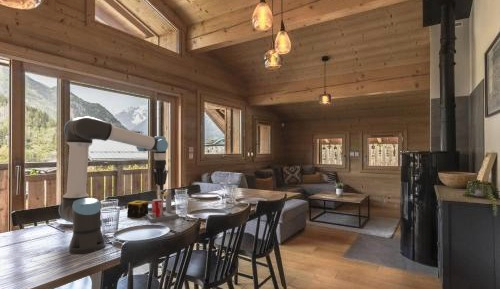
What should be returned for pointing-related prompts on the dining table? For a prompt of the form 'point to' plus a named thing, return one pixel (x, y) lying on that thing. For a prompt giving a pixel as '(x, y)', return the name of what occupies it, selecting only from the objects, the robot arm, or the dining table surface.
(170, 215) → the gray post stand
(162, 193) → the clip
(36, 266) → the dining table surface
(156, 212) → the soda can
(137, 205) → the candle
